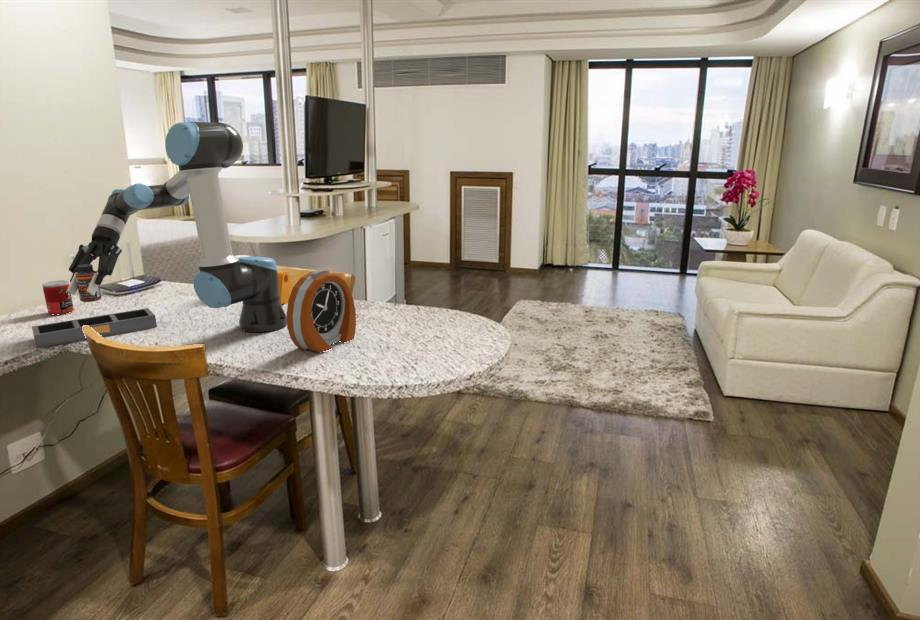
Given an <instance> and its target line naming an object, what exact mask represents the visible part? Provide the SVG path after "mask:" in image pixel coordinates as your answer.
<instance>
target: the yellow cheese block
mask: <svg viewBox="0 0 920 620" xmlns="http://www.w3.org/2000/svg"><path fill="white" fill-rule="evenodd" d="M277 271H278V272H277V275H278V287H279V299H280V303H281V305H284V304H285V305H288V300H289V297H290V294H291V292H292V289H293V287H294V286H293V284H292V279H291V277H290V274H289V272H288V271H284V270H283V271H282V270H277Z"/></svg>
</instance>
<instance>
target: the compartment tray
mask: <svg viewBox="0 0 920 620" xmlns="http://www.w3.org/2000/svg"><path fill="white" fill-rule="evenodd" d="M83 325H89V326H90V327H92V328H93V329H94V330H95V331H96V332H98V333H99V334H100V335H102V336H103V337H108V336H114V335H119V334H125V333H130V332H132V333H133V332H136V331H142V330H147V329H155V328H157V327H158V326H157V325H158V324H157V320H156V315H155V314H154V313H153V312H152V311H151V309H149V307H147V308H141V309H140V308H139V309H134V310H127V311H121V312H115V313H110V314H103V315H96V316H95V315H94V316H90V317H84V318H83V317H82V318H78V319H69V320H63V321H60V322H59V321H58V322H51V323H46V324H39V325H34V326H31V330H32V335H33V338H34V344H35V347H36V349H39V348H40V349H41V348H47V347H51V346H58V345H63V344H68V343H69V344H70V343H74V342H81V341H86V340H87V339H86V338H85V336H84V333H83V331H82V326H83Z"/></svg>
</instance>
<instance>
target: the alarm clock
mask: <svg viewBox="0 0 920 620" xmlns="http://www.w3.org/2000/svg"><path fill="white" fill-rule="evenodd" d="M292 287H293V289H292V292H291V294H290V297H289V300H288V303H287V309H286V317H287V325H286V327H287V328H286V329H287V331H288V334H289V338H290V340H291V341H292V343H293V344H294V345H295V346H296V347H297V348H298V349H300V348H302V349H301V350H304V349H305V350H309V351H311V350H312V351H311V352H313V351H316V352H315V353H318V352H323V351H326V350H329V349H331V348H333V347H332V345H331V344H333V343H335V342H338V341H341V342H347V341H349V342H351V341H350V340H352V339H353V340H354V338H355V336H356V328H357V313H356V312H357V311H356V306H355V302H354V298H353V294H352V291H351V288H350V286H349V285H348V283H347V281H346V280H345V279H344V278H343V277H341V276H340V275H338V274H336V273H329V270H328V269H317V270H315V271H309V272H308V273H306V274H304V275H303V276H301V277H300V278H299V279H298V280H297V282H296V283H295V284H294V286H292ZM353 340H352V341H353ZM338 343H339V342H338ZM347 343H348V342H347ZM330 345H331V346H330ZM333 345H334V344H333Z"/></svg>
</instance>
